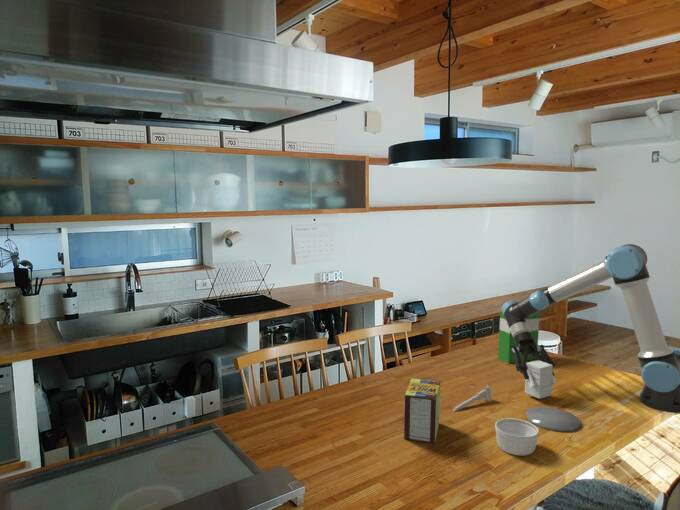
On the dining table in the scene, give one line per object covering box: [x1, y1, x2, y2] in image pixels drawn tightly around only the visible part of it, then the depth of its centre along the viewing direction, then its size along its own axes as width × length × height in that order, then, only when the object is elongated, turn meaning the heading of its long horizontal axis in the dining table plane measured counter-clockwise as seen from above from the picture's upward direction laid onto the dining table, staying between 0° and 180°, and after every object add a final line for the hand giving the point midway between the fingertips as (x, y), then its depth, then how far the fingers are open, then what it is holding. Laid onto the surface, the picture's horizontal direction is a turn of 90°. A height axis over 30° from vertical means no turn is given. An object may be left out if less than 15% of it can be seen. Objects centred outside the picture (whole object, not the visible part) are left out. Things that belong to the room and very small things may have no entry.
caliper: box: [452, 385, 492, 413], centre depth 188 cm, size 20×1×6 cm, turn 123°
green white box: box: [497, 311, 541, 364], centre depth 241 cm, size 18×7×24 cm, turn 111°
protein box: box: [403, 378, 441, 444], centre depth 166 cm, size 10×15×16 cm
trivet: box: [525, 406, 581, 433], centre depth 176 cm, size 18×18×1 cm
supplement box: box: [524, 360, 554, 399], centre depth 195 cm, size 7×7×13 cm
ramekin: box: [494, 417, 540, 457], centre depth 156 cm, size 13×13×7 cm
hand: (543, 385), depth 192 cm, fingers closed on supplement box, 9 cm apart
